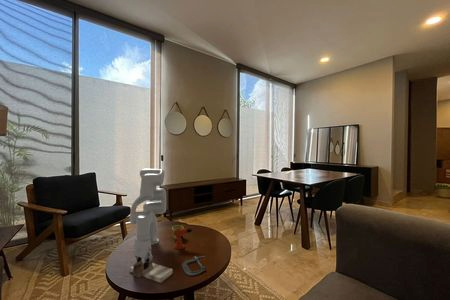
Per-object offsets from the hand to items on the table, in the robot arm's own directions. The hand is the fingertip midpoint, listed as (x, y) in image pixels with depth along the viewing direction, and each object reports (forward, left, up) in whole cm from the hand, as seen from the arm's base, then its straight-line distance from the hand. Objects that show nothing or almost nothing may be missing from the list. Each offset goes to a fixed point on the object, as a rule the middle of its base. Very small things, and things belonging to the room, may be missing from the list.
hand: (142, 266), depth 129 cm
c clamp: (+24, +21, -5) cm, 32 cm away
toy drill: (+3, +38, -4) cm, 39 cm away
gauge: (0, 0, -3) cm, 3 cm away
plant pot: (-13, +49, -4) cm, 51 cm away
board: (+4, +2, -4) cm, 6 cm away
